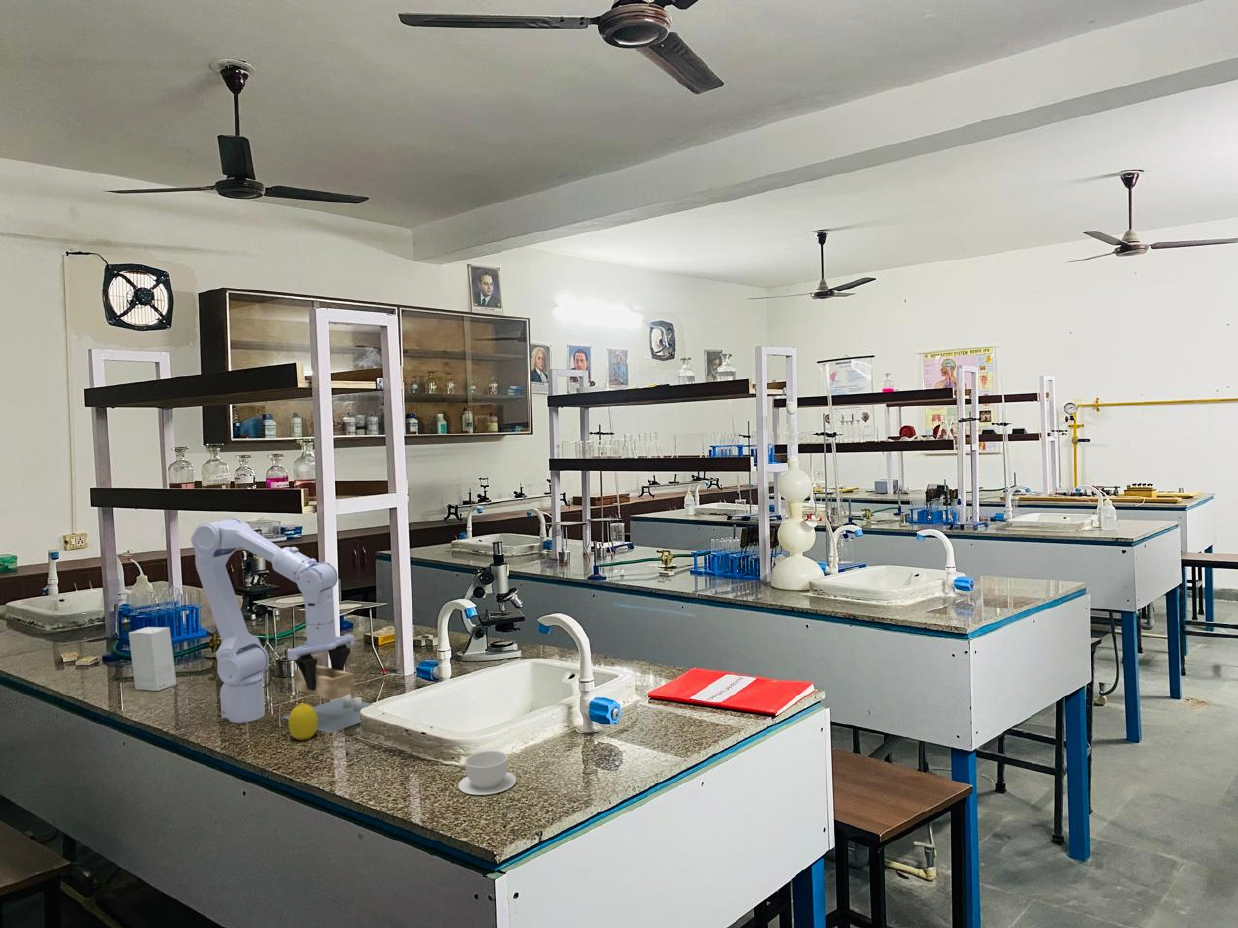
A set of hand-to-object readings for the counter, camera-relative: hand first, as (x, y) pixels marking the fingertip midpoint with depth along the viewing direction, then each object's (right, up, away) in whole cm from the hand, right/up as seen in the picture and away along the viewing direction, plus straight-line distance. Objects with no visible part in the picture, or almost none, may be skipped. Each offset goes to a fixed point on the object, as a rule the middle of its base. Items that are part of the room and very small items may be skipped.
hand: (324, 685), depth 182 cm
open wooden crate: (0, -1, 0) cm, 1 cm away
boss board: (+1, -8, +5) cm, 10 cm away
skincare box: (-54, -10, +35) cm, 65 cm away
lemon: (-1, -9, -9) cm, 13 cm away
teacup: (+39, -9, -33) cm, 52 cm away
